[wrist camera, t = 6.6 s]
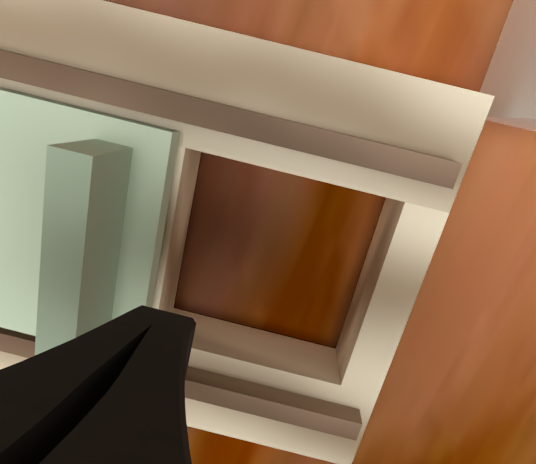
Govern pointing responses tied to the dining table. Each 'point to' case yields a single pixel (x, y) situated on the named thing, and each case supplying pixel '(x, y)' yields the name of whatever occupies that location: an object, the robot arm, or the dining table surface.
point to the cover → (78, 215)
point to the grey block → (514, 70)
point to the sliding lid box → (273, 157)
